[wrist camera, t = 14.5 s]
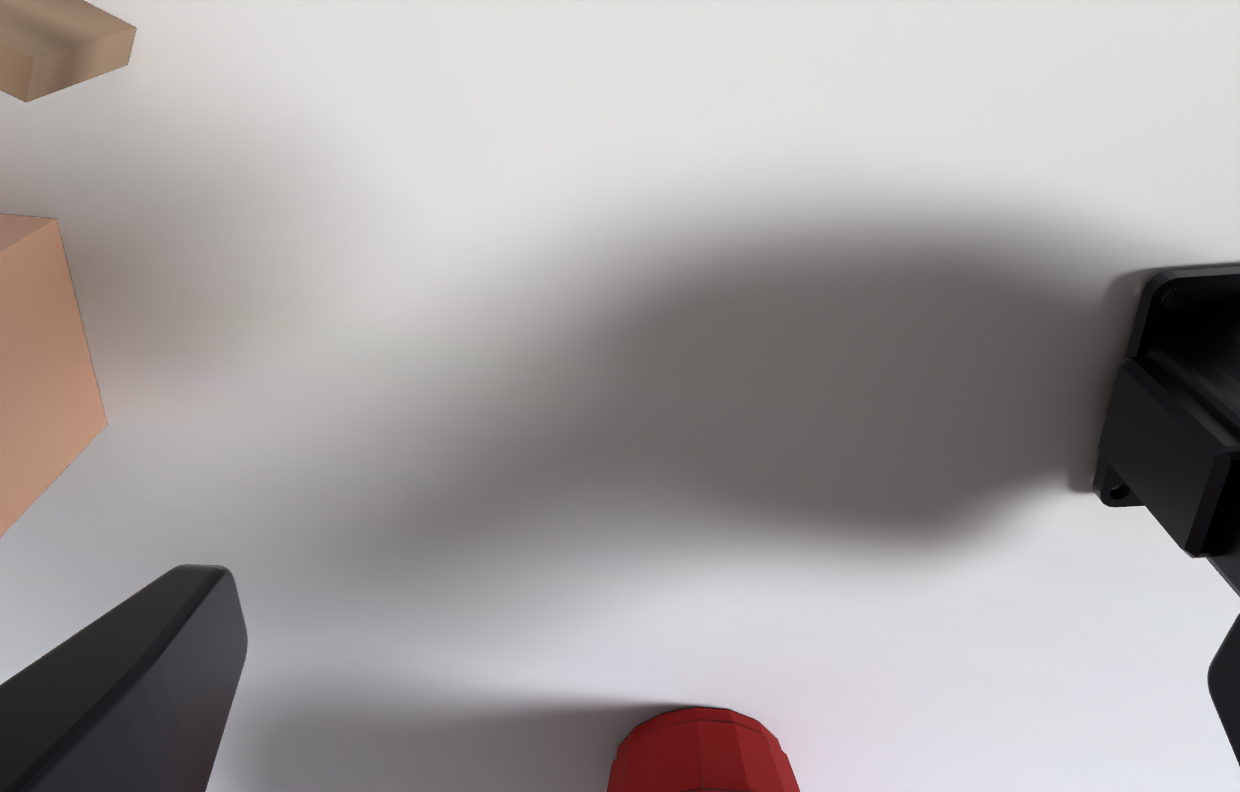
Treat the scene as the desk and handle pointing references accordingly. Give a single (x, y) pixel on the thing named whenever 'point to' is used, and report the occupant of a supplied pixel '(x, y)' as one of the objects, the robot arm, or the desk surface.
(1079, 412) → the desk surface
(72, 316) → the tall peach pillar
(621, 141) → the desk surface
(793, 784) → the plastic cup
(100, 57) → the brown l-shaped block
